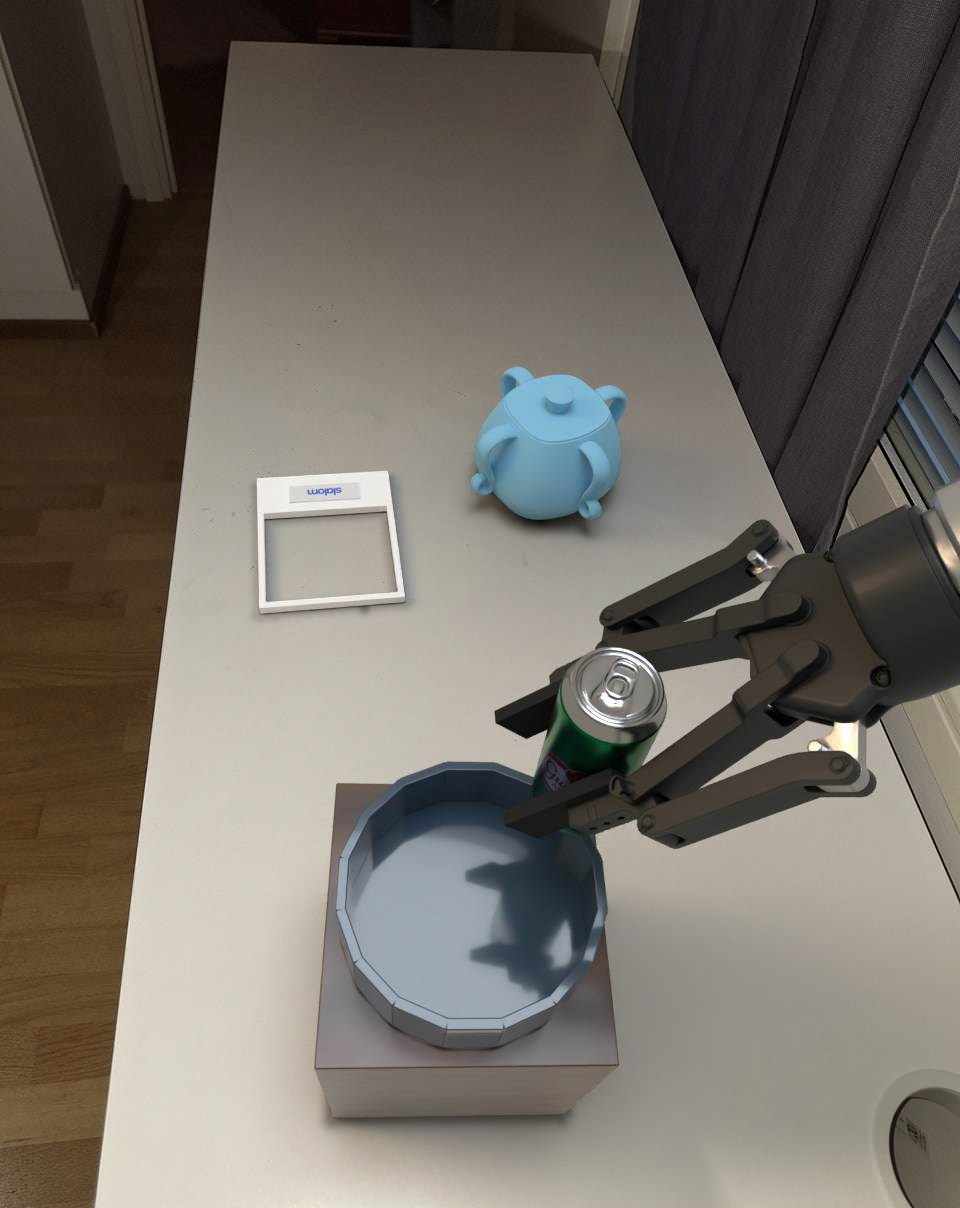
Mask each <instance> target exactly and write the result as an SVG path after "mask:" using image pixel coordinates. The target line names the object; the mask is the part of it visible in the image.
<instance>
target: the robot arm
mask: <svg viewBox="0 0 960 1208" xmlns="http://www.w3.org/2000/svg"><path fill="white" fill-rule="evenodd" d="M931 501H932V505H933V506H932V507H929V509H926V511H923V510H922V509H921V508H920V507H919V506H918V505H916V504H915V505H912V506H910V505H908V503H905V504H903V505H901V506H899V507H897V508H895V509H893V510H890V511H889V512H886V513H884V514H882V515H880V516H878V517H876V518H873V519H872V520H870V521H868V522H866V523H864V524H862V525H860V526H858V527H856V528H854V529H851V530H849V531H848V532H845V533H843V534H841V535H840V536H839V537H838V538H836V540H835V541H834V543H833V546H832V547H831V548H830V549H827V550H824V551H819V552H804V553H800V554H799V553H798V554H797V553H796V552H795V551H794V547H793V545H792V544H791V543H790V542H789V541H788V539H787V538H785V536H784V535H783V534H781V532H780V531H779V530H778V529H777V528H776V527H775V526H774V525H773V523H772V522H771V521H770V520H768V519H762V518H761V519H758V520H755V521H754V522H753V523H751V524H750V525H749V526H748V527H746V529H745V530H743V532H742V533H740V534H739V535H738V536H736V538H735V539H733V540H732V541H731V542H730V543H729V544H728V545H727V546H726V547H724V548H722V549H719V550H718V551H715V552H714V553H712V554H710V555H708V556H705V557H704V558H702V559H700V560H698V561H696V562H693V563H692V564H690V565H688V566H685V567H684V568H681V569H678V570H677V571H676V572H674V573H672V574H669V575H668V576H665V577H664V578H661V579H660V580H657V581H655V582H654V583H651V584H649V585H647V586H646V587H643V588H641V589H639V590H637V591H635V592H633V593H632V594H629V595H627V596H625V597H623V598H621V599H619V600H617V601H615V602H612V603H611V604H609V605H607V606H606V607H604V608H603V609H602V610H601V612H600V613H599V617H598V621H599V624H600V625H601V626H602V627H603V629H602V636H601V640H600V641H599V642H598V643H597V644H596V646H595V647H594V650H596V649H599V648H604V647H620V648H625V649H628V650H631V651H634V652H636V653H638V654H640V655H642V656H643V657H644V658H646V659H647V660H648V661H649V662H651V663H652V664H653V666H654V667H655V668H656V669H657V671H658V672H659V674H660V673H665V672H671V671H675V670H682V669H685V668H692V667H696V666H697V667H698V666H702V665H708V664H714V663H719V662H724V661H730V660H736V659H742V660H745V661H746V660H747V661H749V678H750V679H749V680H747V681H746V682H745V683H743V684H742V685H741V686H739V688H738V687H737V689H736V690H735V691H734V692H733V693H732V695H731V700H730V702H729V703H727V704H726V705H724V706H723V707H722V708H720V709H718V711H716V712H714V713H713V714H712V715H710V716H709V717H708V718H706V719H705V720H704V721H702V722H701V723H699V724H698V725H697V726H695V727H694V728H692V730H690V731H688V732H687V733H685V734H684V735H682V737H680V738H679V739H677V740H676V741H674V742H673V743H671V744H670V745H669V746H668V747H666V748H665V749H663V750H662V751H661V752H659V753H658V754H657V755H655V756H654V757H652V758H651V759H650V760H648V761H647V762H646V763H645V764H644V763H643V765H642V766H641V767H640V768H639V769H637V770H636V771H635V772H633V773H632V774H630V775H629V776H628V777H627V776H625V775H624V774H622V773H620V772H618V771H616V770H614V769H612V768H608V769H606V770H603V771H601V772H598V773H596V774H593V775H591V776H588V777H586V778H584V779H581V780H579V781H576V782H574V783H571V784H569V785H566V786H564V787H562V788H559V789H557V790H554V791H552V792H549V793H547V794H544V795H542V796H540V797H537V798H535V799H532V800H530V801H527V802H525V803H522V804H520V805H517V806H515V807H513V808H510V809H508V810H505V811H503V813H504V824H505V826H507V827H510V828H512V829H515V830H517V831H519V832H522V833H524V834H527V835H529V836H532V837H534V838H537V839H539V838H541V837H544V836H546V835H549V834H552V833H554V832H557V831H560V830H562V829H565V828H568V827H572V828H575V829H577V830H579V831H581V832H584V833H586V834H595V835H598V834H601V833H604V832H605V831H609V830H611V829H614V828H617V827H620V826H622V825H625V824H628V823H631V822H633V821H636V828H637V830H638V832H639V833H640V834H641V835H642V836H644V837H647V838H649V839H651V840H653V841H654V842H657V843H660V844H661V845H664V846H666V847H667V848H671V849H672V850H678V849H681V848H684V847H687V846H690V845H692V844H696V843H698V842H701V841H704V840H706V839H709V838H710V839H711V838H712V837H716V836H718V835H721V834H724V833H726V832H729V831H732V830H734V829H737V828H740V827H743V826H745V825H748V824H752V823H754V822H756V821H759V820H762V819H765V818H768V817H770V816H773V815H776V814H779V813H781V812H784V811H787V810H790V809H793V808H795V807H798V806H801V805H803V804H808V803H810V802H812V801H815V800H818V799H820V798H865V797H868V796H870V795H871V794H873V793H874V792H875V791H876V788H877V783H878V782H877V781H878V780H877V777H876V776H875V774H874V773H873V772H872V771H871V770H870V769H869V768H868V767H867V734H868V733H867V730H868V729H870V728H872V727H874V726H875V725H876V724H877V723H878V722H879V721H881V720H882V718H883V717H884V716H885V715H886V714H887V713H888V712H889V711H891V710H892V709H893V708H895V707H897V706H899V705H902V704H905V703H910V702H915V701H919V700H922V699H925V698H928V697H931V696H934V695H937V694H939V693H942V692H945V691H947V690H949V689H953V688H955V687H957V686H960V476H958V477H956V478H955V479H953V480H950V481H948V482H946V483H944V484H942V485H940V486H938V487H936V488H934V490H933V492H932V494H931ZM765 582H770V583H769V584H768V586H767V588H766V589H765V590H764V592H762V594H761V595H760V597H759V598H758V599H755V600H750V601H747V602H741V603H738V604H733V605H729V606H724V607H720V608H718V609H716V610H715V612H714V614H712V615H708V616H704V617H700V618H695V617H696V616H699V615H701V614H703V613H706V612H708V611H710V610H712V609H714V608H716V607H718V606H721V605H723V604H724V603H726V602H729V601H731V600H733V599H735V598H737V597H739V596H742V595H744V594H747V593H748V592H750V591H752V590H754V589H756V588H757V587H758V586H760V585H762V584H763V583H765ZM692 618H695V619H692ZM585 655H586V654H583V655H581V656H580V657H578V658H576V659H574V660H572V661H569V662H568V663H566V664H565V665H561V666H559V667H558V668H555V669H554V670H553V671H552V672H551V673H550V674H549V675H548V678H549V684H547V685H545V686H543V687H540V688H539V689H537V690H534V691H532V692H531V693H528V694H526V695H525V696H522V697H520V698H518V699H516V700H514V701H512V702H509V703H507V704H506V705H504V706H501V707H499V708H498V709H495V710H494V723H495V724H496V725H498V726H500V727H502V728H503V729H505V730H507V731H510V732H512V733H513V734H515V735H517V736H519V737H521V738H523V739H525V740H528V739H531V738H532V737H535V736H537V735H540V734H541V733H543V732H547V730H548V726H549V723H550V719H551V716H552V712H553V709H554V705H555V702H556V698H557V695H558V691H559V688H560V684H561V681H562V679H563V676H564V674H565V673H566V671H567V670H568V669H569V668H570V666H571V665H572V664H574V663H575V662H576V661H578V660H579V659H581V658H582V657H583V656H585ZM806 722H811V723H815V724H820V725H824V726H828V727H832V728H831V730H830V731H829V733H828V734H827V735H825V736H823V737H820V738H817V739H812V740H810V741H809V742H808V744H807V747H806V748H807V751H800V752H799V751H798V752H793V753H789V754H785V755H782V756H779V757H777V758H774V759H770V760H768V761H766V762H764V763H761V764H758V765H756V766H753V767H751V768H748V769H746V770H743V771H741V772H738V773H735V774H733V775H730V776H728V777H725V778H723V779H720V780H718V781H716V782H713V783H710V784H708V783H709V782H711V781H713V780H714V779H715V778H716V777H718V776H719V775H721V774H723V773H724V772H725V771H726V770H728V769H729V768H731V767H733V766H734V765H735V764H737V763H738V762H739V761H741V760H743V759H744V758H746V757H748V755H750V754H751V753H752V752H754V751H756V750H757V749H758V748H760V747H761V746H763V745H764V744H765V743H767V742H769V741H772V740H779V739H782V738H784V737H785V736H787V735H788V734H790V733H791V732H793V731H794V730H796V729H798V728H799V727H800V726H801V725H803V724H804V723H806ZM706 784H708V785H706Z"/></svg>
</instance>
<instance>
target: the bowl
mask: <svg viewBox="0 0 960 1208" xmlns="http://www.w3.org/2000/svg"><path fill="white" fill-rule="evenodd" d="M533 779H534V776H532V775H530V774H526V773H524V772H522V771H519V770H517V769H514V768H512V767H509V766H506V765H504V764H502V763H498V762H494V761H452V760H451V761H444V762H441V763H438V764H435V765H432V766H430V767H427V768H424V769H421V770H419V771H416V772H413V773H411V774H407V775H404V776H401V777H399V778H398V779H397V780H396V781H395V782H394V783H391V784H392V785H391V786H390V787H389V788H388V789H387V790H386V791H384V792H383V793H382V794H381V795H380V796H379V797H378V798H376V799H375V800H374V801H373V802H372V803H371V804H370V805H369V806H367V807H366V808H365V809H364V810H363V812H361V814H360V816H359V818H358V820H357V822H356V824H355V826H354V828H353V830H352V832H351V834H350V836H349V838H348V840H347V842H346V844H345V846H344V848H343V850H342V852H341V854H340V856H339V861H338V875H337V889H336V903H335V913H336V919H337V925H338V932H339V937H340V940H341V943H342V946H343V949H344V952H345V955H346V958H347V962H348V965H349V967H350V969H351V972H352V975H353V978H354V981H355V984H356V985H357V987H358V988H359V989H360V990H361V991H362V993H363V994H364V995H365V997H366V998H367V999H368V1001H369V1002H370V1003H371V1004H372V1006H373V1007H374V1008H375V1009H376V1010H377V1011H378V1012H379V1013H380V1014H381V1015H382V1016H383V1017H384V1018H385V1019H386V1020H388V1021H389V1022H390V1024H393V1026H395V1027H397V1028H399V1029H400V1030H401V1031H403V1032H405V1033H407V1034H409V1035H411V1036H413V1037H415V1038H416V1039H419V1040H422V1041H425V1042H427V1043H430V1044H433V1045H437V1046H440V1047H443V1048H453V1049H480V1048H488V1047H496V1046H500V1045H502V1044H505V1043H507V1042H510V1041H513V1040H515V1039H518V1038H520V1037H522V1036H524V1035H525V1034H527V1033H529V1032H531V1031H532V1030H534V1029H536V1028H538V1027H540V1026H542V1025H544V1024H545V1023H546V1022H547V1021H548V1020H549V1019H550V1018H551V1016H552V1015H553V1014H554V1013H555V1012H556V1011H557V1009H558V1008H559V1007H560V1006H561V1005H562V1004H563V1002H564V1001H565V1000H566V999H567V998H568V996H569V995H570V994H571V993H572V992H573V991H574V989H575V988H576V987H577V986H578V984H579V983H580V981H581V980H582V978H583V977H584V975H585V974H586V972H587V971H588V969H589V968H590V966H591V965H592V963H593V960H594V957H595V954H596V950H597V947H598V944H599V940H600V937H601V934H602V930H603V927H604V924H605V923H606V920H607V916H608V913H609V906H608V898H607V888H606V879H605V870H604V860H603V857H602V855H601V853H600V851H599V850H598V847H596V846H595V844H594V842H593V840H592V838H591V836H590V835H586V836H578V835H571V834H567V833H564V832H562V831H557V832H554V833H552V834H549V835H546V836H544V837H541V838H539V839H537V838H534V837H532V836H529V835H527V834H524V833H522V832H519V831H517V830H515V829H512V828H510V827H507V826H505V824H504V813H503V811H505V810H508V809H510V808H513V807H515V806H517V805H520V804H522V803H525V802H527V801H530V800H532V799H533V795H532V784H533ZM605 925H606V924H605Z"/></svg>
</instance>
